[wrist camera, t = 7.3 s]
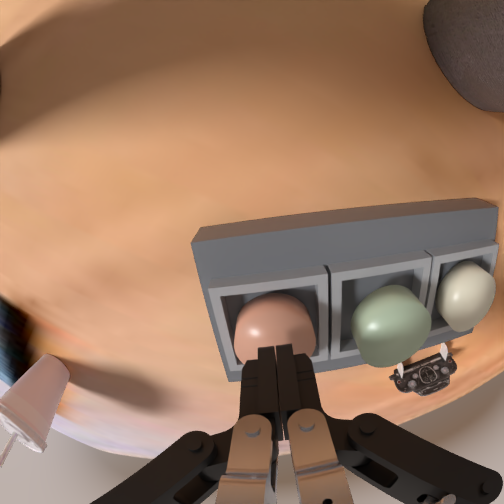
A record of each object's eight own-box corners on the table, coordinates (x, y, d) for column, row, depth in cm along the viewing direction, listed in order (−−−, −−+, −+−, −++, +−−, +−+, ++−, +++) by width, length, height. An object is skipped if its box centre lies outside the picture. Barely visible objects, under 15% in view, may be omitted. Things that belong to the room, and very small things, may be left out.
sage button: (352, 291, 13) (363, 312, 11) (421, 279, 13) (438, 296, 11) (348, 351, 14) (356, 374, 13) (410, 337, 14) (422, 357, 12)
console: (200, 227, 16) (185, 250, 13) (476, 197, 15) (508, 211, 11) (231, 357, 20) (227, 392, 16) (457, 315, 18) (478, 339, 15)
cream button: (441, 266, 13) (457, 280, 12) (484, 256, 13) (501, 268, 11) (430, 322, 15) (442, 338, 13) (472, 309, 14) (486, 323, 13)
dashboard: (452, 316, 19) (478, 347, 15) (441, 367, 21) (459, 397, 17) (287, 366, 21) (292, 410, 17) (299, 410, 23) (304, 449, 19)
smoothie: (90, 382, 22) (37, 492, 9) (65, 392, 24) (18, 481, 11) (46, 336, 20) (-28, 440, 7) (26, 352, 22) (-34, 437, 9)
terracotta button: (230, 297, 14) (226, 318, 12) (308, 288, 14) (315, 307, 12) (242, 354, 16) (241, 376, 14) (311, 346, 15) (316, 368, 14)
